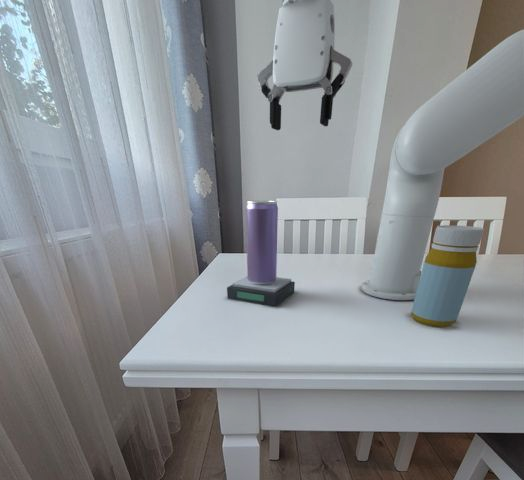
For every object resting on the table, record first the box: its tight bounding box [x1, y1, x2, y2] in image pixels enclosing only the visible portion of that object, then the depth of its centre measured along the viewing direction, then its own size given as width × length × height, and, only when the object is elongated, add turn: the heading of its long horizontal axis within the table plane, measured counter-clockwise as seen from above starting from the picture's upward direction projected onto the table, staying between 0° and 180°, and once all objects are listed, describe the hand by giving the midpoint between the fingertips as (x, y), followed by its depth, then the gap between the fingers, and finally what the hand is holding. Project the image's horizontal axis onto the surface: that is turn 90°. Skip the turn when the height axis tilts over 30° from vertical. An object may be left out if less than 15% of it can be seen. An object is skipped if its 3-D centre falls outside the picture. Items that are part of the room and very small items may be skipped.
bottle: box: [410, 224, 485, 328], centre depth 47 cm, size 7×7×15 cm
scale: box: [226, 275, 296, 308], centre depth 62 cm, size 11×10×3 cm
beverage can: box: [245, 200, 279, 285], centre depth 58 cm, size 6×6×15 cm
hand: (299, 127), depth 56 cm, fingers open, 9 cm apart
